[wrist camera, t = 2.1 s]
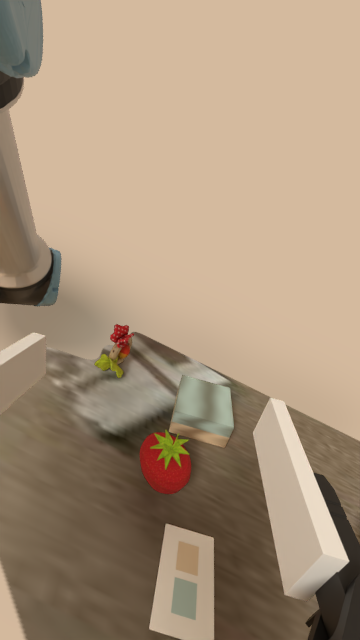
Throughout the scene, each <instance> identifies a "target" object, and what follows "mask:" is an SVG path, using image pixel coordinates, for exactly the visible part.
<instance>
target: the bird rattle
mask: <svg viewBox="0 0 360 640" xmlns="http://www.w3.org/2000/svg"><path fill="white" fill-rule="evenodd" d="M114 328H115V329H114V333H113V334H112V335H111V336H110V339H111V340H112V341H113V342H115V345H114V346H113V348H112V350H111V352H110V355H109V356H108V357H107V355H106V354H102V355H101V358H100V359H99V360H97V361H96V362H95V364H94V365H95V366H97V367H98V368H101V369H102V370H103V371H105V370H107V369H109V368H110V366H111V370H112V371H116V374H117V377H118V378H120V377H121V376H122V374H123V373H124V372H123V370H122V369H121V368H120V367H119V366H118V364H120V363H121V362H123V361H124V359H125V357H127V356H128V354H129V352H130V348H131V345H132V339H131V337H132V336H134V334H133V333H132V334H130V335H128V331H129V326H127V325H126V326H120V325H118V324H117V325H115V326H114Z"/></svg>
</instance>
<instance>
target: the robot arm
mask: <svg viewBox="0 0 360 640" xmlns="http://www.w3.org/2000/svg"><path fill="white" fill-rule="evenodd" d="M41 9H42V8H41V1H40V0H0V303H7V304H22V305H34V306H50V305H53V304H54V303H55V302H56V299H57V295H58V287H59V282H60V272H61V253H60V252H59V251H57V250H54V249H52V248H49V247H48V246H47V244H46V243H45V241H44V240H43V239H42V238H41V237H40V236H38V235H37V233H36V229H35V225H34V220H33V216H32V211H31V207H30V202H29V198H28V194H27V189H26V185H25V180H24V176H23V171H22V168H21V163H20V158H19V154H18V149H17V145H16V140H15V137H14V132H13V127H12V123H11V118H10V114H9V108H11V107H12V106H13V105H14V104H15V103H16V102H17V101H18V99H19V98H20V96H21V94H22V91H23V85H24V77H32V76H35V75H36V74H37V73H38V71H39V69H40V66H41V61H42V53H43V52H42V51H43V23H42V10H41ZM45 375H46V336H45V335H41V334H38V333H34V332H33V333H31V334H30V335H28V336H26V337H24V338H23V339H21V340H19V341H18V342H16V343H14V344H12V345H11V346H9V347H7V348H6V349H4V350H2V351H0V414H2V413H3V412H4V411H5V410H6V409H7V408H8V407H9V406H11V405H12V404H13V403H14V402H15V401H16V400H17V399H19V398H20V397H21V396H22V395H23V394H24V393H25V392H26V391H28V390H29V389H30V388H31V387H32V386H33V385H34V384H36V383H37V382H38V381H39V380H40V379H41V378H42V377H44V376H45ZM253 435H254V441H255V446H256V451H257V456H258V461H259V466H260V471H261V476H262V481H263V487H264V492H265V497H266V502H267V507H268V512H269V517H270V522H271V527H272V533H273V538H274V543H275V548H276V553H277V558H278V563H279V568H280V573H281V579H282V584H283V589H284V594H285V595H287V596H290V597H294V598H297V599H300V600H304V601H308V600H309V599H310V598H311V597H313V596H314V595H315V594H316V597H317V601H318V604H319V608H320V609H319V610H318V611H317V612H315V613H314V614H313V615H312V616H311V617H310V618H309V619H308V620H307V622H306V625H307V626H308V627H310V626H311V625H312V627H311V631H310V634H309V637H308V640H360V544H359V542H358V540H357V538H356V536H355V534H354V531H353V529H352V527H351V525H350V523H349V521H348V520H347V518H346V517H347V516H346V514H345V512H344V510H343V508H342V507H341V503H340V501H339V499H338V497H337V495H336V493H335V490H334V489H333V487H332V486H331V485H330V483H329V482H328V481H327V479H326V478H325V477H324V476H323V475H320V474H317V473H313V471H312V469H311V466H310V464H309V462H308V459H307V457H306V454H305V452H304V449H303V447H302V444H301V442H300V440H299V437H298V435H297V432H296V430H295V427H294V425H293V422H292V420H291V418H290V415H289V413H288V410H287V408H286V405H285V403H284V401H280V400H277V399H273V398H270V399H269V401H268V403H267V405H266V407H265V410H264V412H263V414H262V416H261V418H260V420H259V422H258V424H257V426H256V428H255V430H254V432H253Z"/></svg>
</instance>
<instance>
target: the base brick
mask: <svg viewBox="0 0 360 640" xmlns="http://www.w3.org/2000/svg"><path fill="white" fill-rule="evenodd" d="M233 428H234V423H233V413H232V404H231V394H230V388H228V387H224V386H220V385H217V384H213V383H210V382H206V381H203V380H199V379H195V378H192V377H188V376H185V375H182V378H181V382H180V385H179V389H178V392H177V396H176V401H175V405H174V410H173V415H172V419H171V424H170V429H169V432H171V433H174V434H178V433H179V435H181V436H185V437H188V438H192V439H195V440H199V441H202V442H206V443H209V444H213V445H216V446H220V447H223V448H225V446H226V444H227V442H228V440H229V437H230V435H231V433H232V431H233Z"/></svg>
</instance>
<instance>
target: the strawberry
mask: <svg viewBox="0 0 360 640" xmlns="http://www.w3.org/2000/svg"><path fill="white" fill-rule="evenodd" d="M178 435H179V433H178ZM178 435H177V438H178ZM177 438H175V437H173V436H172V435H170V434H169V433H168V432H167V430H165V433H162V432H156V433H152V434H150V435H149V436H148V437H147V438H146V439H145V440H144V442H143V444H142V446H141V448H140V462H141V468H142V472H143V475H144V477H145V479H146V480H147V482H148V483H149V484H150V486H151V487H152V488H153V489H154V490H156V491H157V492H160V493H164V494H173V493H176V492H178V491H179V490H180V489H182V488H183V487H184V486H185V485H186V484H187V483H188V481H189V479H190V474H191V460H190V456H189V455H190V454H189V453H188V452H187V450H186V449H185V447H184V446H183V445H182V444H184V443H185V442H187V441H189V440H185V439H177Z"/></svg>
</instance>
